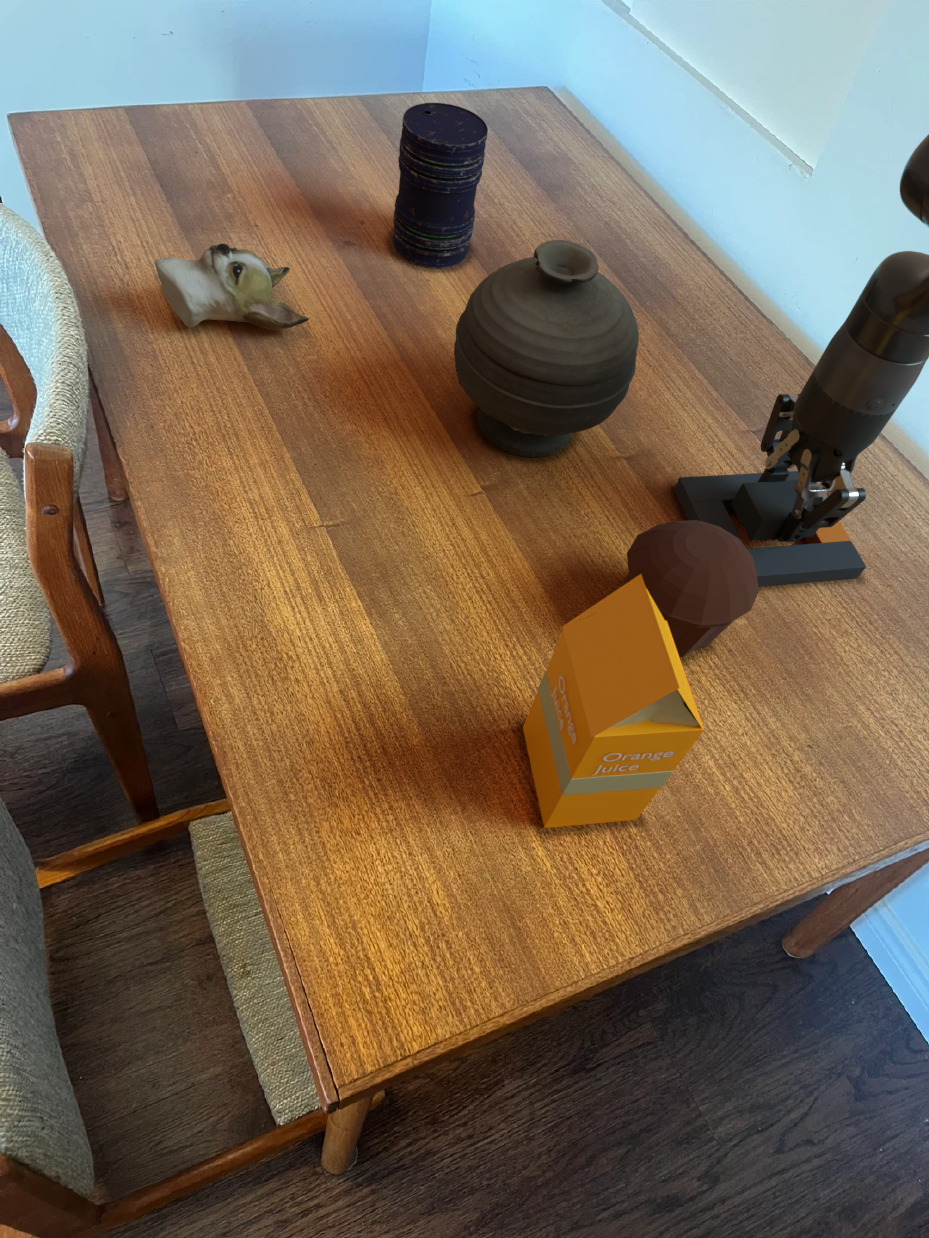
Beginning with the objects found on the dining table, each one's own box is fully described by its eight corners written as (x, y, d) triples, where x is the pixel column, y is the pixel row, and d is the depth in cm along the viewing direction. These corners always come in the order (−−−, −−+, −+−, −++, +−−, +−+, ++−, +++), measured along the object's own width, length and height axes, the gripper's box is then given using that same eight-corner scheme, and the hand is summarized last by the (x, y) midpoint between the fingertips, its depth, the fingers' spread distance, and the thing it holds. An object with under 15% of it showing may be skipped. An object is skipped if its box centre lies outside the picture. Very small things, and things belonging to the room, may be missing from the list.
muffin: (625, 673, 76) (663, 604, 68) (590, 573, 82) (621, 499, 74) (747, 661, 79) (797, 594, 71) (705, 565, 85) (747, 494, 77)
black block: (792, 500, 90) (805, 479, 87) (813, 537, 87) (827, 516, 84) (730, 504, 88) (742, 483, 86) (750, 541, 85) (762, 521, 83)
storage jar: (485, 253, 111) (506, 132, 99) (431, 278, 106) (446, 154, 94) (430, 216, 114) (444, 94, 103) (374, 239, 109) (383, 114, 98)
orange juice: (610, 720, 73) (696, 570, 57) (638, 820, 68) (740, 686, 52) (520, 726, 71) (582, 574, 55) (541, 829, 66) (616, 693, 50)
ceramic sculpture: (146, 215, 90) (290, 217, 95) (152, 289, 97) (287, 287, 102) (161, 277, 85) (314, 275, 90) (167, 351, 92) (308, 345, 97)
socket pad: (801, 482, 94) (809, 470, 93) (857, 578, 87) (866, 566, 86) (673, 489, 91) (679, 477, 89) (720, 590, 83) (727, 578, 82)
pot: (502, 508, 85) (541, 319, 70) (412, 404, 94) (429, 219, 79) (644, 462, 92) (706, 283, 77) (547, 370, 101) (586, 195, 86)
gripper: (940, 439, 70) (838, 571, 84) (859, 327, 78) (777, 464, 92) (860, 442, 69) (768, 577, 82) (785, 328, 76) (713, 468, 90)
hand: (773, 517), depth 87 cm, fingers closed on black block, 5 cm apart
